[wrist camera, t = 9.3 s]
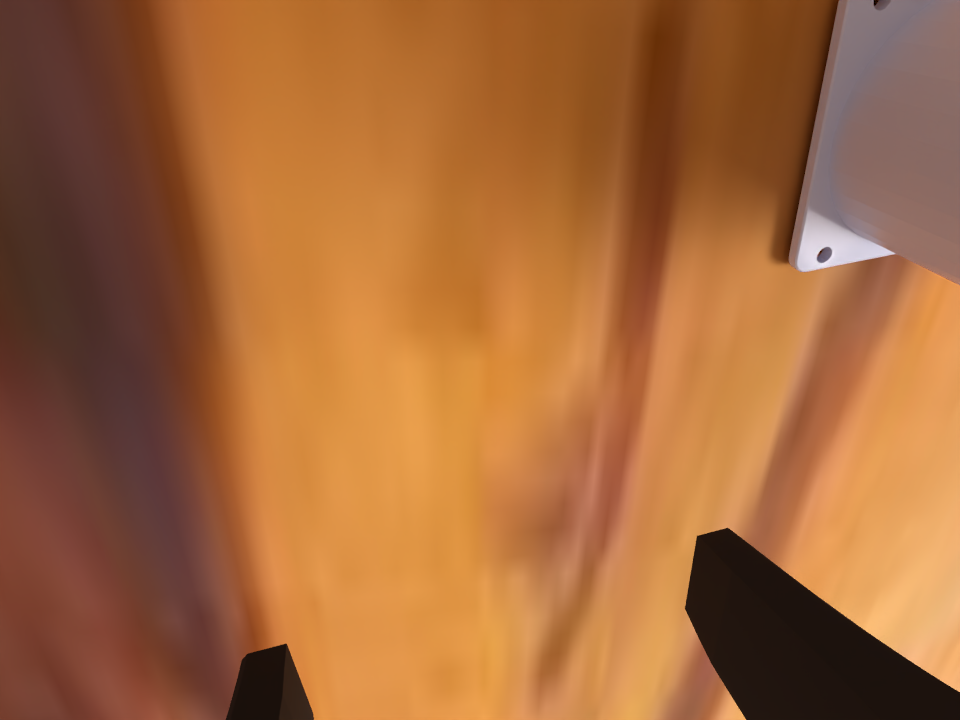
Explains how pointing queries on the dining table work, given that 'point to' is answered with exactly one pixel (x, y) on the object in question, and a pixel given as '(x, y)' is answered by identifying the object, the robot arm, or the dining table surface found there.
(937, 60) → the robot arm
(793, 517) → the dining table surface
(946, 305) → the dining table surface
